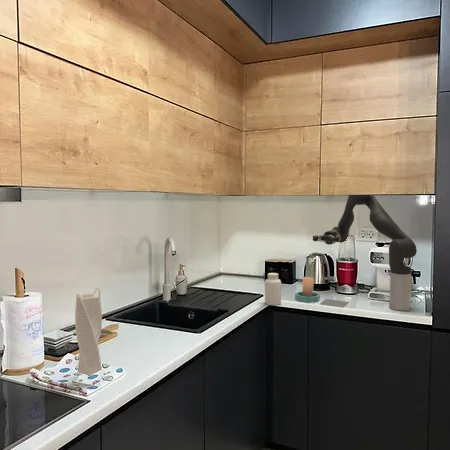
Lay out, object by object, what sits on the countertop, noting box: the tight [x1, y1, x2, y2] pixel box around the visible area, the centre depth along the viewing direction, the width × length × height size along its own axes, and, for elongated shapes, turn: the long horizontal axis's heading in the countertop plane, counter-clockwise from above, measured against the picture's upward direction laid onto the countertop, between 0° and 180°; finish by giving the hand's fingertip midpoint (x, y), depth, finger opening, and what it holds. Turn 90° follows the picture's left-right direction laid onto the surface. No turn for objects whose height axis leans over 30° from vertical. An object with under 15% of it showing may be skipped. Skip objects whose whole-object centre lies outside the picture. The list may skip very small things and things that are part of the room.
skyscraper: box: [74, 287, 103, 376], centre depth 127 cm, size 8×8×28 cm
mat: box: [319, 298, 350, 308], centre depth 215 cm, size 12×12×1 cm
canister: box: [301, 276, 315, 297], centre depth 222 cm, size 5×5×11 cm
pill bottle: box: [264, 272, 282, 306], centre depth 216 cm, size 8×8×15 cm
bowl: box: [294, 291, 321, 304], centre depth 222 cm, size 12×12×3 cm
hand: (322, 239), depth 230 cm, fingers open, 8 cm apart
